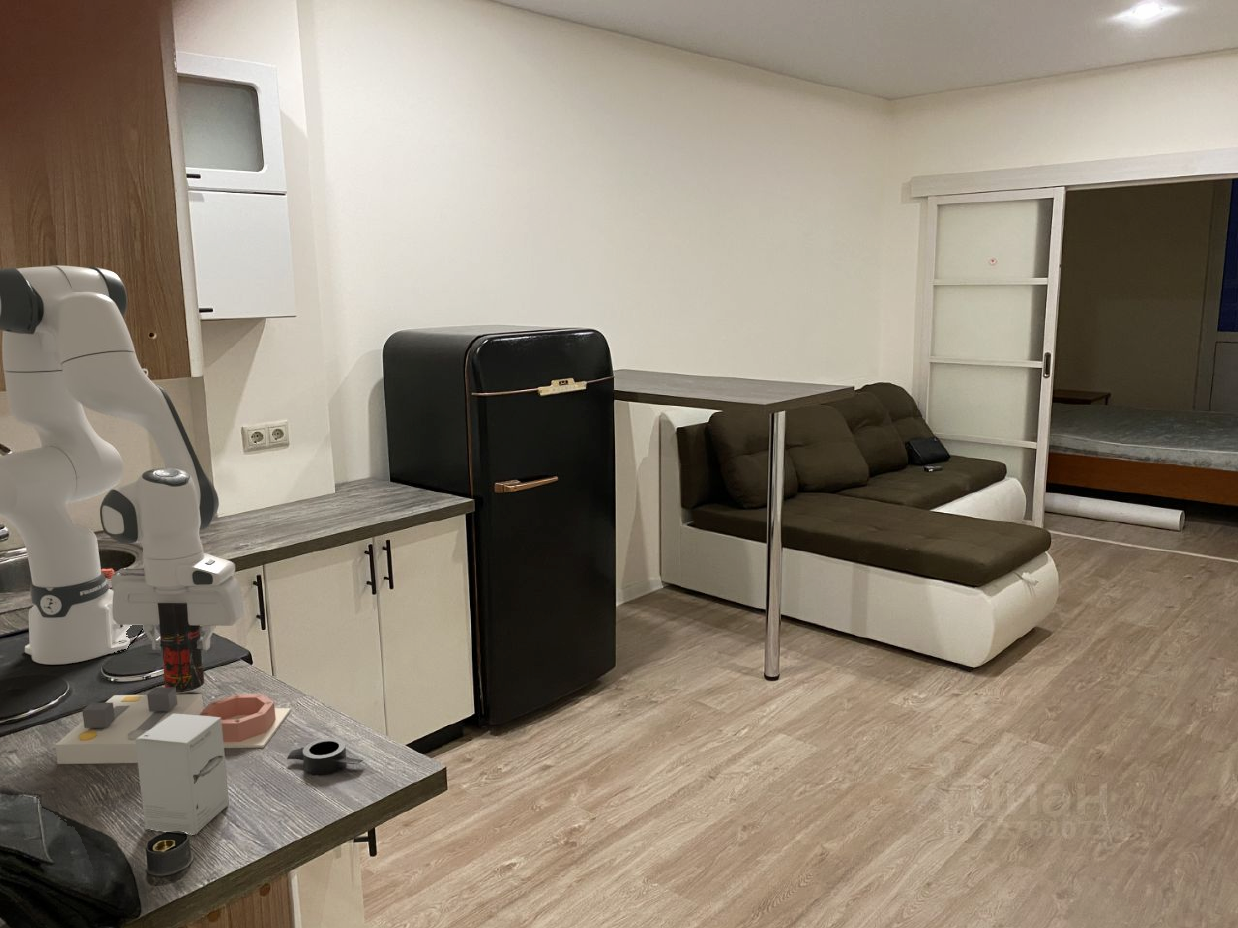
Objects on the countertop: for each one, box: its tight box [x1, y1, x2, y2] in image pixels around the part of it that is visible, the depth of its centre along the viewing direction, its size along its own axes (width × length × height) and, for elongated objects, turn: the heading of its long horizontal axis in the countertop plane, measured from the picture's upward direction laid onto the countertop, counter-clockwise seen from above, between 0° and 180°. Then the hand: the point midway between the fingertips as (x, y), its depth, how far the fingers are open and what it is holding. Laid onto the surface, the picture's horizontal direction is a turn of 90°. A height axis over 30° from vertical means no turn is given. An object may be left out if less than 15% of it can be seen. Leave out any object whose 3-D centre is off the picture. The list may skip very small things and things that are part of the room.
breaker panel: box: [54, 693, 205, 765], centre depth 140 cm, size 16×14×4 cm
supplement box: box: [135, 713, 230, 836], centre depth 117 cm, size 7×7×13 cm
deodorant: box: [158, 603, 205, 694], centre depth 152 cm, size 6×6×15 cm
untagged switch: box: [146, 686, 177, 711], centre depth 141 cm, size 2×3×3 cm
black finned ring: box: [286, 737, 364, 777], centre depth 131 cm, size 8×10×3 cm
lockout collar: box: [199, 693, 292, 749], centre depth 142 cm, size 12×12×3 cm
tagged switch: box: [81, 702, 115, 728], centre depth 136 cm, size 2×3×3 cm
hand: (181, 648), depth 152 cm, fingers closed on deodorant, 6 cm apart
